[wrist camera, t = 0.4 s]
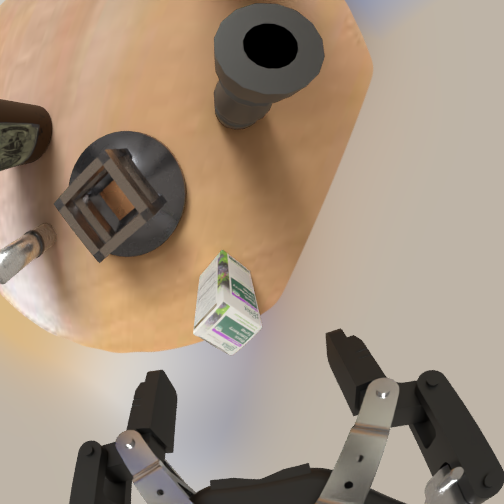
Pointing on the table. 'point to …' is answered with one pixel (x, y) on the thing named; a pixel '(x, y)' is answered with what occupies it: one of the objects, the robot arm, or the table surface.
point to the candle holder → (262, 61)
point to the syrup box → (226, 305)
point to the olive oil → (22, 133)
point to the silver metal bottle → (25, 250)
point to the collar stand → (124, 195)
